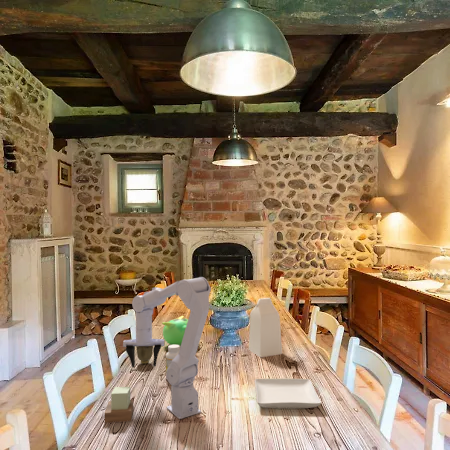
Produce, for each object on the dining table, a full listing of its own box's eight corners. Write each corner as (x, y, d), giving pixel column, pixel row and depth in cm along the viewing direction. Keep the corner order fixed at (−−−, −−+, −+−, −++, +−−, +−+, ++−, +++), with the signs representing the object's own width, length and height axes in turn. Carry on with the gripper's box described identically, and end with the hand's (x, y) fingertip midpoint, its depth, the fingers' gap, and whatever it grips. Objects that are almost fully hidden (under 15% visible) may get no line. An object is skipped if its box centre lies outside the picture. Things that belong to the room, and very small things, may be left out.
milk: (260, 357, 178) (259, 301, 178) (248, 350, 188) (248, 297, 188) (282, 353, 183) (281, 299, 183) (269, 347, 193) (269, 295, 193)
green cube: (127, 409, 120) (127, 393, 120) (111, 409, 120) (111, 393, 120) (130, 402, 125) (130, 386, 125) (114, 402, 125) (114, 387, 125)
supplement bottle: (174, 373, 158) (174, 342, 158) (185, 377, 154) (185, 345, 154) (162, 378, 153) (162, 346, 153) (173, 382, 149) (173, 349, 149)
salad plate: (254, 386, 146) (254, 377, 146) (310, 386, 145) (310, 377, 145) (256, 413, 124) (256, 402, 124) (322, 413, 124) (322, 403, 124)
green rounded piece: (200, 341, 204) (200, 313, 204) (194, 351, 187) (194, 321, 187) (167, 340, 206) (167, 313, 206) (158, 350, 189) (158, 320, 189)
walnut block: (131, 422, 119) (131, 411, 119) (104, 424, 118) (104, 412, 118) (133, 410, 127) (133, 399, 127) (108, 412, 126) (108, 401, 126)
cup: (156, 363, 171) (156, 345, 171) (142, 367, 165) (142, 349, 166) (146, 359, 176) (146, 342, 176) (133, 363, 171) (133, 345, 171)
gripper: (165, 325, 142) (165, 361, 142) (125, 325, 142) (126, 362, 141) (163, 330, 135) (163, 368, 135) (121, 330, 135) (121, 369, 134)
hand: (144, 366), depth 138 cm, fingers open, 7 cm apart
